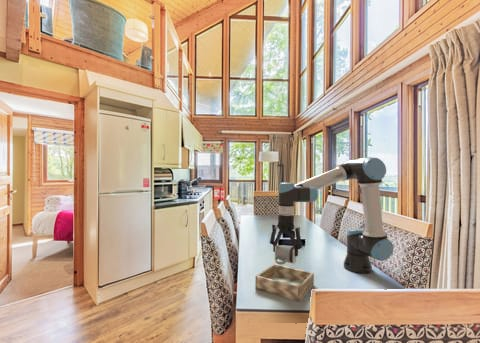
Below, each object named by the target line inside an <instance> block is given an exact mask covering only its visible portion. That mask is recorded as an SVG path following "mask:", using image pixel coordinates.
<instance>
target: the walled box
mask: <svg viewBox="0 0 480 343" xmlns="http://www.w3.org/2000/svg"><path fill="white" fill-rule="evenodd" d="M314 275H315V273H314V272H311V271H308V270H307V271H306V270H302V269H298V268H294V267H289V266H286V265H279V264H277V263H272V264H271V265H270V266H268V267H267V268H265V269H264V270H262V271H261V272H260V273H258V274H256V275H255V285H254V286H255V289H256V290H259V291H262V292H266V293H269V294H271V295H275V296H278V297H281V298H286V299H289V300H291V301H296V302H298V303H301V301H303V299H304V297H306V295H307V294H308V293H309V292H310V290H311V289H312V288H313V287H314V283H315V280H314V278H315V276H314ZM311 287H312V288H311ZM310 288H311V289H310Z"/></svg>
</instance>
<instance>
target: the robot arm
mask: <svg viewBox="0 0 480 343" xmlns="http://www.w3.org/2000/svg"><path fill="white" fill-rule="evenodd" d="M386 175H387V167H386V164H385V163H384V161H383V160H381V159H380V158H379V157H373V156H372V157H371V156H369V157H361V158H353V159H350V160H348V161H345V162H343V163H340V164H338V165H336V166H335V168H333V169H331V170H328V171H326V172H324V173H320V174H317V175H315V176H313V177H311V178H308V179H305V180H303V181H300V182H298V183H295V184H294V182H280V183H279V185H278V192H277V193H278V217H277V222H278V223H277V224H276V223H274V224H272V225H271V227H272V229H271V235H270V240H269V244H270V245H272V246H273V247H272V248H273V250H272V251H273V252H274V259H275V258H276V249H277V247H278V246H279V245H278V243H279V241H280V239H281V238H282V235H283V234H284V235H285V234H286V235H288V237H289V239H290V242H291V244H292V246H293V247H294V249H293V263H292V264H293V265H294V264H296V263H297V257H298V256H299V250H302V248H303V244H302V239H301V233H300V232H301V227H300V226H299V227H297V226H295V225H294V223H295V222H294V221H295V216H294V214H295V203H314V202H316V201H317V200H318V195H319V194H318V191H319V190H322V189H323V188H326V187H329V186H331V185H333V184H335V183H338V182H340V181H341V182H345V181H348V180H357V184H358V185H359V186H360V188H361V189H360V191H361V200H362V201H361V202H362V211H363V219H364V220H363V221H364V228H349V229H348V230H347V234H346V255H345V259H344V261H343V268H345V269H346V270H347V271H350V272H353V273H358V274H369V273H372V272H373V266H372V262H371V259H370V258H372V259H374V260H377V261H381V262H383V261H386V260H387V261H388V259H390V257H391V256H392V255H393V252H394V244H393V243H392V241H391V240H390V239H388V234H387V232H386V231H385V230H384V223H383V214H382V204H381V203H382V202H381V192H380V185H381V184H382V183H383V180H382V179H384V178H385V176H386ZM277 229H278V233H277ZM293 231H294V232H295V235H294V232H293ZM276 234H277V235H276Z"/></svg>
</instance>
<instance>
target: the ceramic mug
mask: <svg viewBox="0 0 480 343" xmlns="http://www.w3.org/2000/svg"><path fill="white" fill-rule="evenodd" d="M293 249H294V247H293V245H292V246H291V245H285V244H281V245H279V246H278V247H277V249H276V258H275V257H274V260H275V264H277V265H281V266H283V265H285V264H286V263H289V264H293ZM278 260H279V261H278Z"/></svg>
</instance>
